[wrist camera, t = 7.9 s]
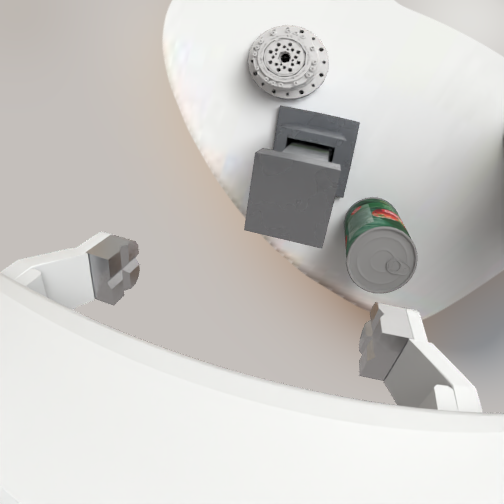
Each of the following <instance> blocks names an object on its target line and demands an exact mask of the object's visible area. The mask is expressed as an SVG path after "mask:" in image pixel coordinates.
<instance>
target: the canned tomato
mask: <svg viewBox="0 0 504 504" xmlns="http://www.w3.org/2000/svg"><path fill="white" fill-rule="evenodd" d="M344 229H345V240H346V257H347V263H346V264H347V270H348V273H349V275H350V277H351V279H352V280H353V282H354V283H355V284H356V285H357V286H359V287H360V288H362V289H363V290H366V291H368V292H372V293H388V292H392V291H395V290H397V289H399V288H400V287H402V286H403V285H404V284H406V283H407V282H408V281H409V280H410V278H411V277H412V275H413V274H414V272H415V269H416V266H417V251H416V247H415V245H414V243H413V241H412V240H411V238H410V236H409V234H408V232H407V230H406V228H405V226H404V224H403V223H402V221H401V219H400V217H399V215H398V213H397V211H396V209H395V208H394V207H393V206H392V205H391V204H390V203H389V202H387V201H385V200H383V199H380V198H376V197H370V198H365V199H362V200H359V201H358V202H356V203H355V204H354V205H353V206H352V207H351V208H350V209H349V211H348V212H347V214H346V217H345V221H344Z"/></svg>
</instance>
